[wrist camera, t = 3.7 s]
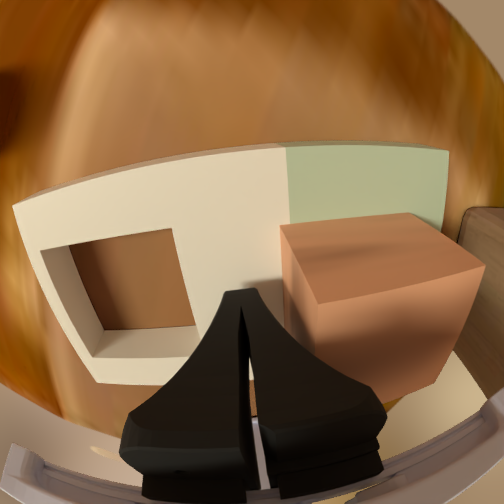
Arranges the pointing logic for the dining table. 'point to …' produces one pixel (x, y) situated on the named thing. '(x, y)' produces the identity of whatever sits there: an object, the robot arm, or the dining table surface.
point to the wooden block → (485, 300)
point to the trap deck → (213, 230)
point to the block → (377, 297)
